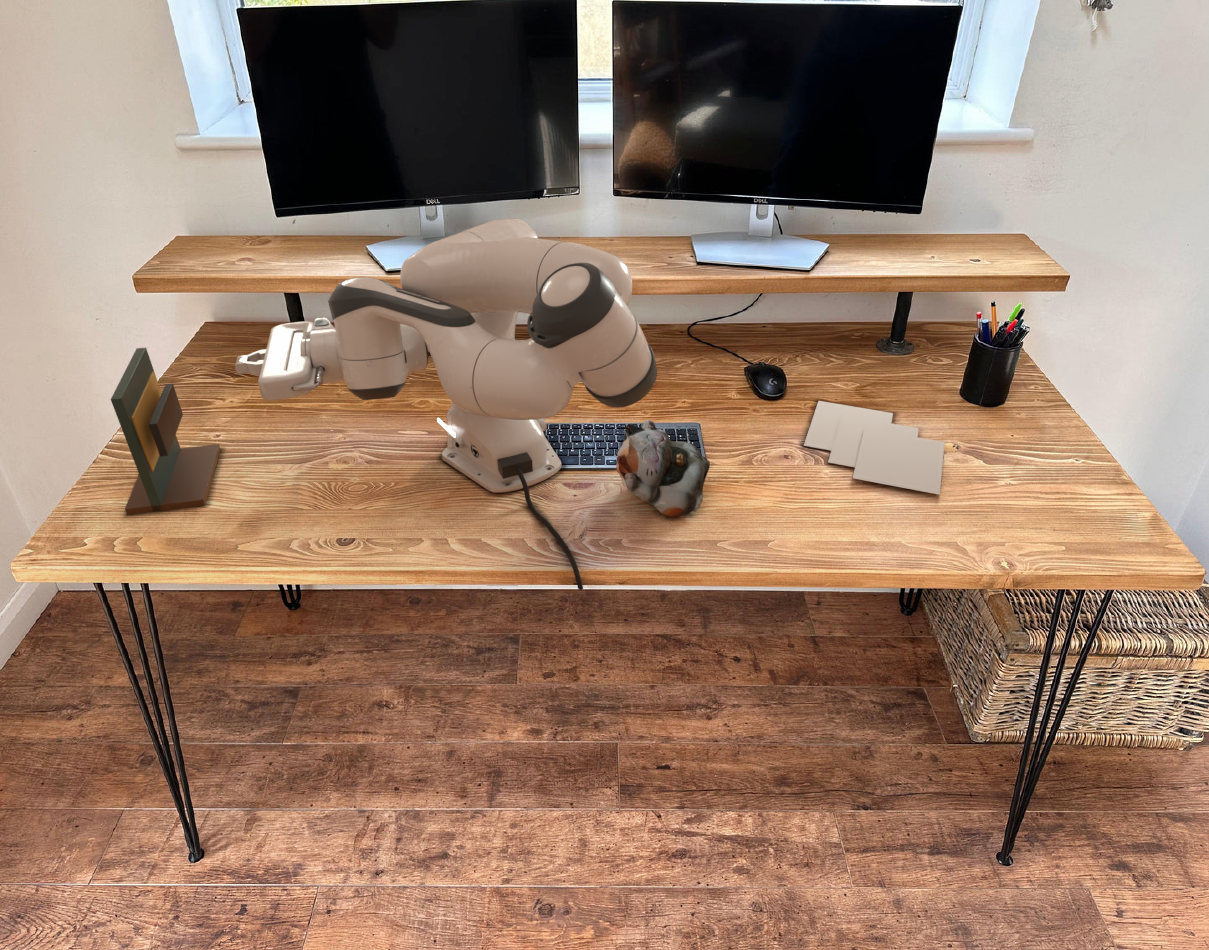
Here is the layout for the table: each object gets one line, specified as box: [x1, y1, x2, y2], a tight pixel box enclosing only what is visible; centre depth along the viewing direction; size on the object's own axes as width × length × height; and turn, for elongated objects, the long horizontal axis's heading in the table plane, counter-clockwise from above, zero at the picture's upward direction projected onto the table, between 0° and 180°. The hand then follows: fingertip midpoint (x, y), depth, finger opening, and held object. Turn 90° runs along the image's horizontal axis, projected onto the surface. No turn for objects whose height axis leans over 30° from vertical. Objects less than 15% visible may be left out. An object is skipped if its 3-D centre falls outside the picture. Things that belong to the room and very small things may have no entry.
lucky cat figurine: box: [615, 419, 711, 518], centre depth 142 cm, size 15×12×14 cm
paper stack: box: [803, 400, 946, 496], centre depth 156 cm, size 23×25×1 cm
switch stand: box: [110, 347, 222, 516], centre depth 144 cm, size 12×17×21 cm
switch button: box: [149, 383, 184, 456], centre depth 143 cm, size 1×13×6 cm, turn 11°
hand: (236, 365), depth 141 cm, fingers closed
